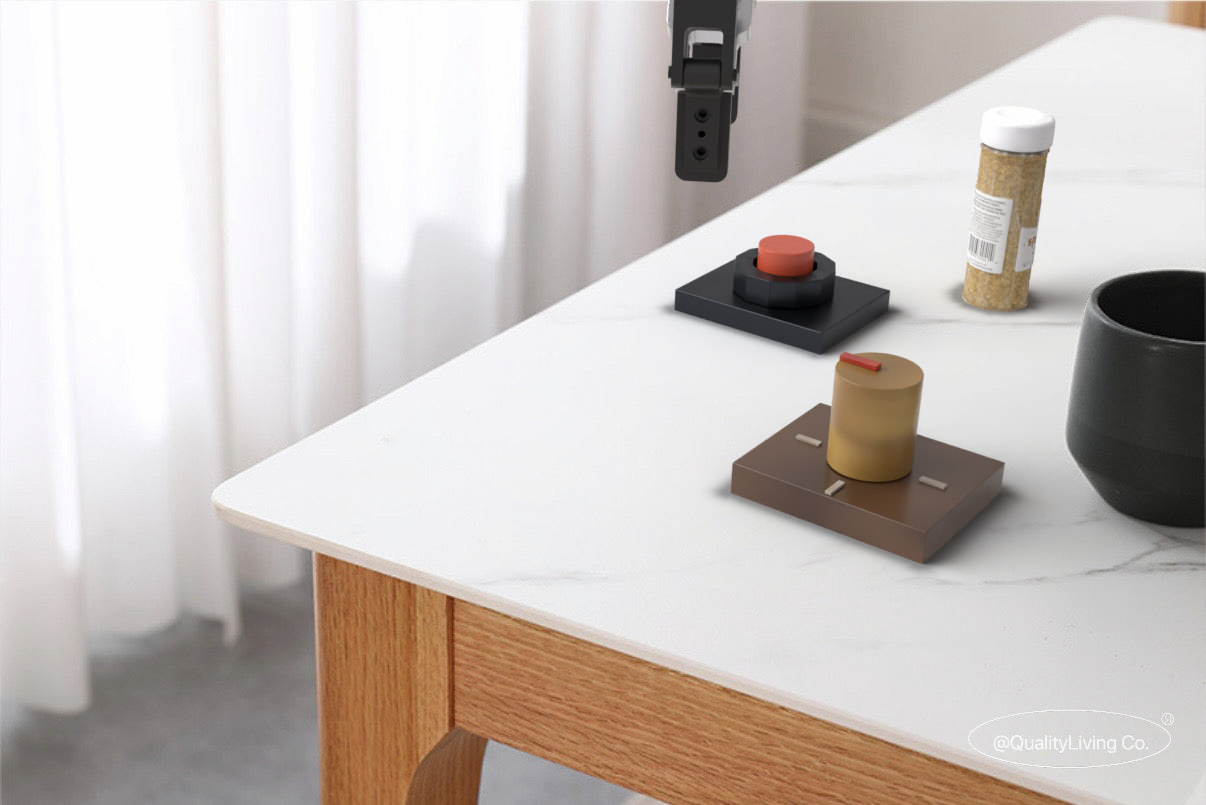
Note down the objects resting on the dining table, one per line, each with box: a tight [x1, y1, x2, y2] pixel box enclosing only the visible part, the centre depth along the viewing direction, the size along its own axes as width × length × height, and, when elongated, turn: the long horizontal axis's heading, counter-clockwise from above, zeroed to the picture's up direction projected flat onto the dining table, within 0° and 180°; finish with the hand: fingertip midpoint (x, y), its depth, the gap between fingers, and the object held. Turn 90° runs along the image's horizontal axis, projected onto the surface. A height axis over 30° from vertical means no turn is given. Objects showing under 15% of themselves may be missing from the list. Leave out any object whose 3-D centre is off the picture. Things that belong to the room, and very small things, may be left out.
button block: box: [674, 247, 891, 355], centre depth 102 cm, size 11×9×4 cm
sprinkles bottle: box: [961, 105, 1056, 312], centre depth 103 cm, size 5×5×13 cm
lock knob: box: [827, 351, 925, 482], centre depth 79 cm, size 4×4×6 cm
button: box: [757, 234, 816, 276], centre depth 101 cm, size 4×4×2 cm
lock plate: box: [730, 402, 1006, 565], centre depth 81 cm, size 11×9×3 cm
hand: (707, 149), depth 70 cm, fingers open, 8 cm apart
